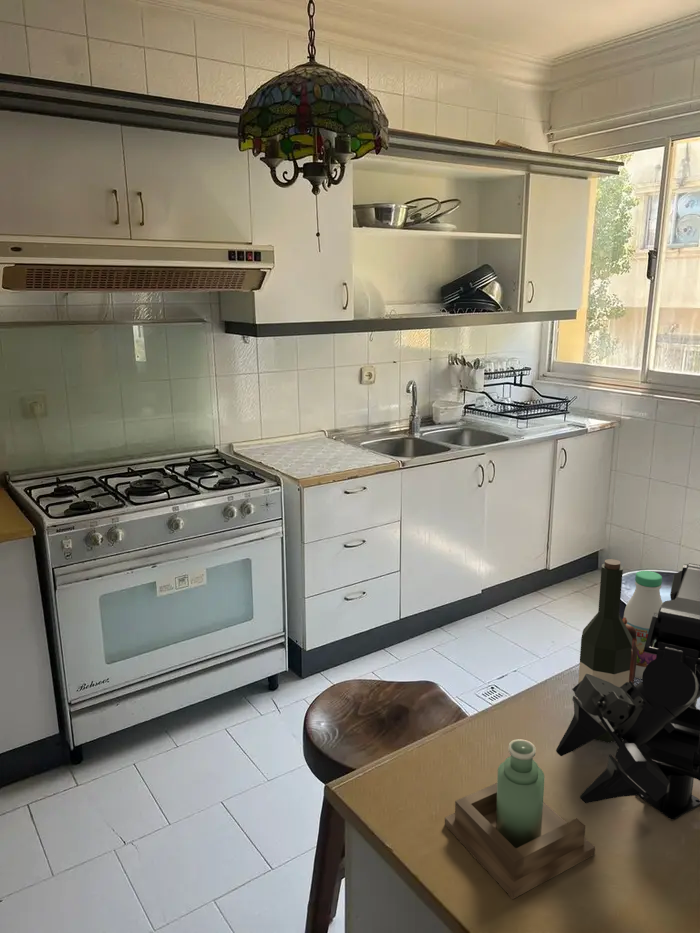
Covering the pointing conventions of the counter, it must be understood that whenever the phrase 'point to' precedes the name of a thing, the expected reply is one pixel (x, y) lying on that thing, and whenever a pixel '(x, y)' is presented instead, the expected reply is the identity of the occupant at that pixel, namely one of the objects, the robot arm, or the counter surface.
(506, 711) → the counter surface
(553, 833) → the bottle rest
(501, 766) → the green bottle
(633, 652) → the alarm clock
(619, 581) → the wine bottle
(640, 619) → the milk bottle
